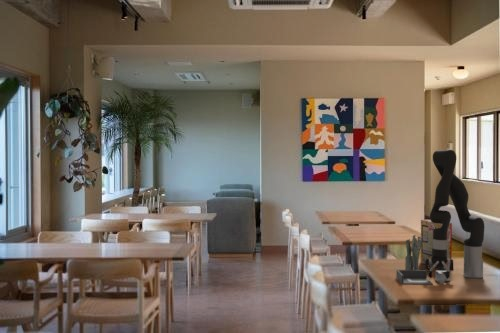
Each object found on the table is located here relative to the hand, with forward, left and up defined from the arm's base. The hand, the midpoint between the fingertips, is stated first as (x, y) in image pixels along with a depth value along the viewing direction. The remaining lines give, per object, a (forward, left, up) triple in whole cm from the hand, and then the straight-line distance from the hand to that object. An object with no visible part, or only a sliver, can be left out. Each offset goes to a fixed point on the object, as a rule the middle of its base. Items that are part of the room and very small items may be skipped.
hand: (438, 278), depth 287 cm
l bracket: (-3, 0, -2) cm, 4 cm away
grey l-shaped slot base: (+13, 0, -2) cm, 13 cm away
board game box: (-9, -39, -2) cm, 40 cm away
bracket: (+8, -25, -2) cm, 27 cm away
